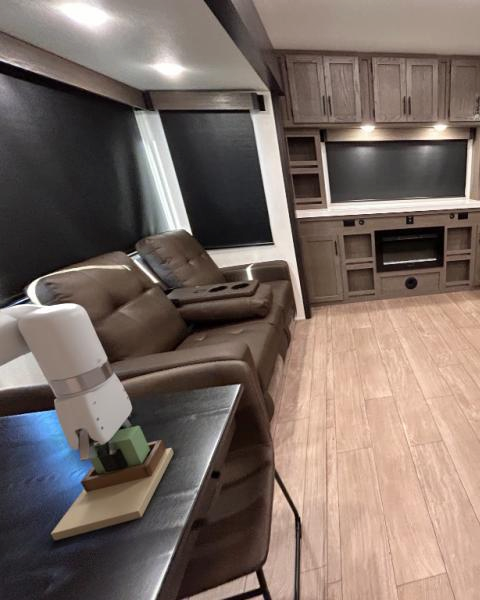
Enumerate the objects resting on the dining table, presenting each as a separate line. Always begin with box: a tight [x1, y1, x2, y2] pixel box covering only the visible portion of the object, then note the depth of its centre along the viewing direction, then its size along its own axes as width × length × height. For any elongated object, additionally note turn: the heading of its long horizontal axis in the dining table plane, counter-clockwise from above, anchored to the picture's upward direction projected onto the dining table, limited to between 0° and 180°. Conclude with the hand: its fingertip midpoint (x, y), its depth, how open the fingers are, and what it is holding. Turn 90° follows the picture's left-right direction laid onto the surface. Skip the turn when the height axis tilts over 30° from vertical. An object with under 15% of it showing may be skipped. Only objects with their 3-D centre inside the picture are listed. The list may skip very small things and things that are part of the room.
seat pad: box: [50, 439, 175, 541], centre depth 57 cm, size 14×12×4 cm
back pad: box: [89, 425, 150, 474], centre depth 59 cm, size 4×7×6 cm, turn 105°
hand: (123, 459), depth 60 cm, fingers closed on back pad, 3 cm apart
